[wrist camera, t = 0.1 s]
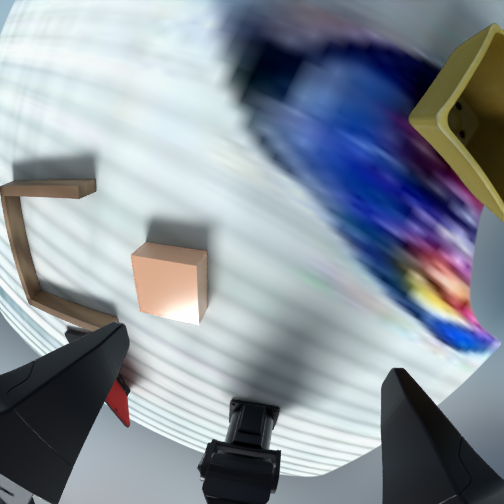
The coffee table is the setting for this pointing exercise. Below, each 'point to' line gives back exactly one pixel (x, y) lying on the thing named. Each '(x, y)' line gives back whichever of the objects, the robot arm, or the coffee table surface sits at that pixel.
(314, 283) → the coffee table surface
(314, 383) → the coffee table surface
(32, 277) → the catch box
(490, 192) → the flower pot
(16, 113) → the coffee table surface
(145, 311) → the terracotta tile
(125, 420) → the handheld game console
